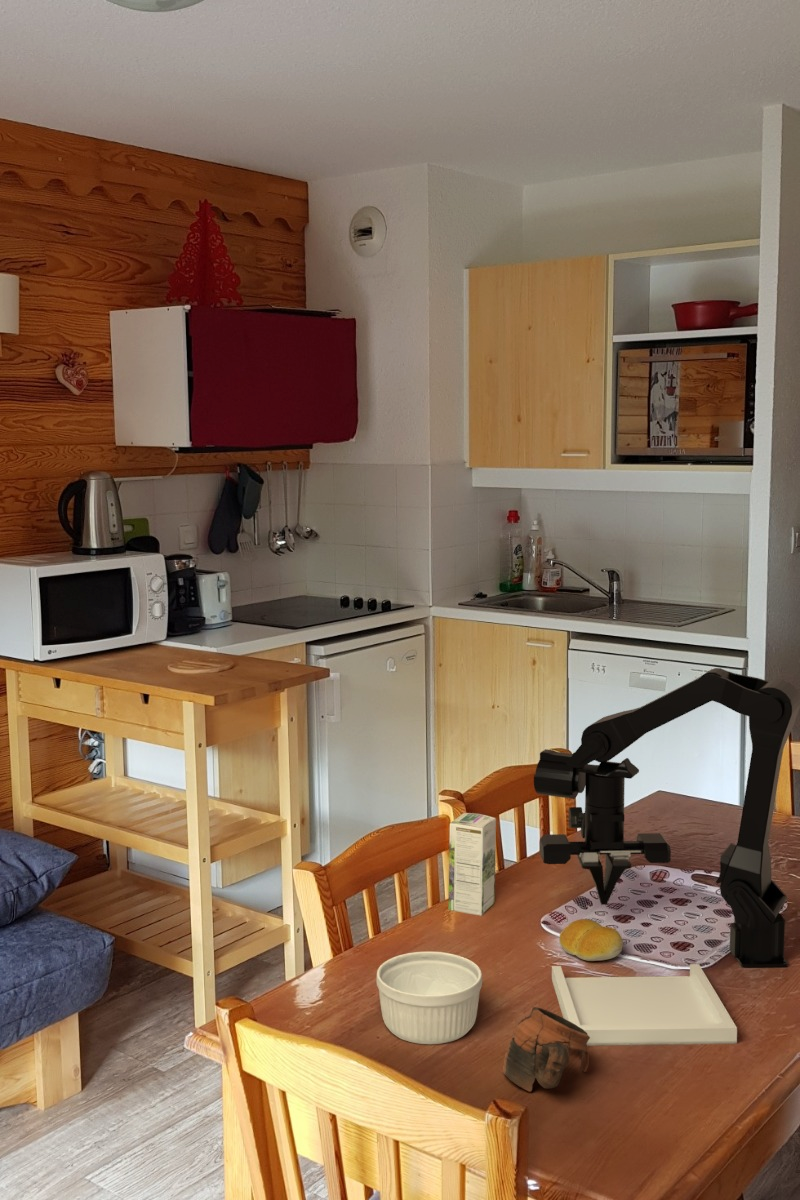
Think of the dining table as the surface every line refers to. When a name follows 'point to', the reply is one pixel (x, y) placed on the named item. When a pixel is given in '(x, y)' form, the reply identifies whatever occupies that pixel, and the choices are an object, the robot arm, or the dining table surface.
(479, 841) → the syrup box
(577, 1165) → the dining table surface
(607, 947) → the bread roll
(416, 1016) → the ramekin
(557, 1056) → the pottery mug
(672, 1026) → the tray
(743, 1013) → the dining table surface
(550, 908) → the dining table surface
